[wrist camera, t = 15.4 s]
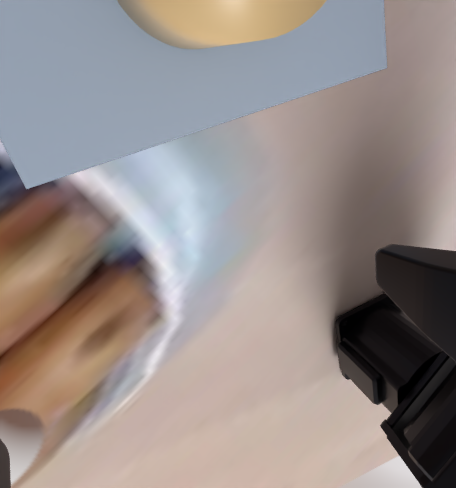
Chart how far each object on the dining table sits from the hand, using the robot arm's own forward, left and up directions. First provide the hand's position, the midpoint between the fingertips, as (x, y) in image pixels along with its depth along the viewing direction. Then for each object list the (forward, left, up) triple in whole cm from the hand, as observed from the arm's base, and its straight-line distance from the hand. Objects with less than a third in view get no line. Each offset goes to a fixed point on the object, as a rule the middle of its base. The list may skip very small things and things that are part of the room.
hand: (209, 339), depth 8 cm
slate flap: (-4, -5, -8) cm, 10 cm away
